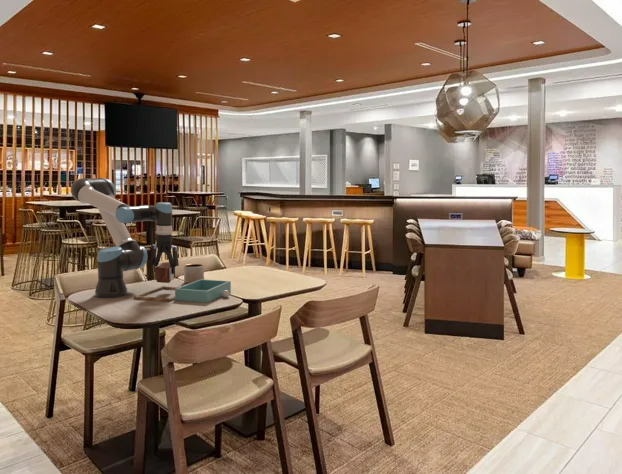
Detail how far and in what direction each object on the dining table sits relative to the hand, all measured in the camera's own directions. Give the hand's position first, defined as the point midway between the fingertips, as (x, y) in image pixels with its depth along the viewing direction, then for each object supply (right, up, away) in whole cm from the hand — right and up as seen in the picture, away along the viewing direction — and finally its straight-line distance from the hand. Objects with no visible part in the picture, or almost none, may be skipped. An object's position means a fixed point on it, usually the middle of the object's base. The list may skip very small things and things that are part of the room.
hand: (164, 279), depth 263 cm
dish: (+20, -8, -1) cm, 21 cm away
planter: (+8, -4, +32) cm, 33 cm away
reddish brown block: (0, -1, +1) cm, 2 cm away
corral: (+1, -8, +1) cm, 8 cm away
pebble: (+31, -9, -4) cm, 33 cm away
